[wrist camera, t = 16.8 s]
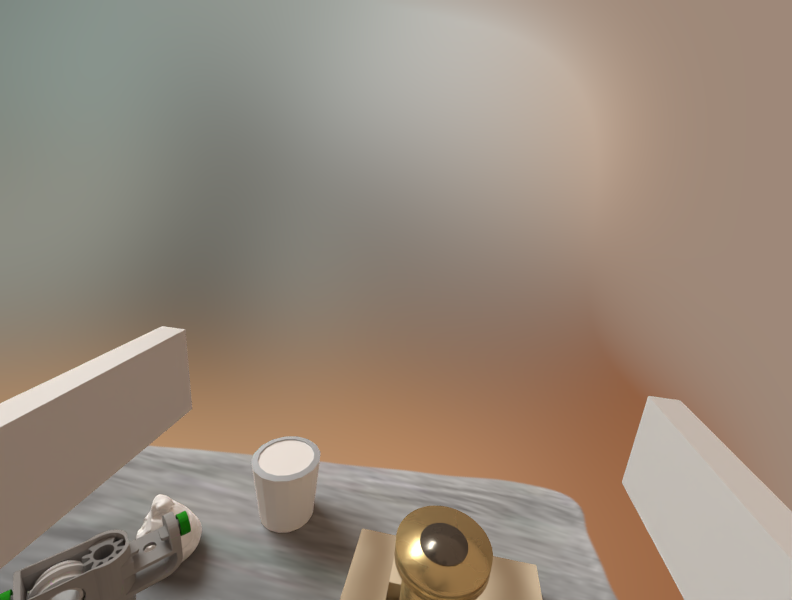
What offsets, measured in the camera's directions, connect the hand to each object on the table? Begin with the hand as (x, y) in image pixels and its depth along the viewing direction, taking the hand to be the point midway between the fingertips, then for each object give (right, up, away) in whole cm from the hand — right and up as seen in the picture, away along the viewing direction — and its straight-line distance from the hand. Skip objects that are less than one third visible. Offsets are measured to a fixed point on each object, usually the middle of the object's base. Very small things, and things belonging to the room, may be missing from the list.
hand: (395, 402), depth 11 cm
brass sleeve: (+2, -25, +18) cm, 31 cm away
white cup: (-12, -20, +31) cm, 39 cm away
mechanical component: (-20, -23, +18) cm, 36 cm away
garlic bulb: (-21, -21, +26) cm, 40 cm away
